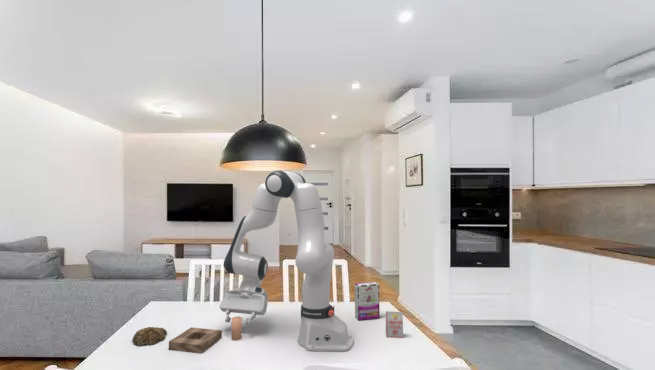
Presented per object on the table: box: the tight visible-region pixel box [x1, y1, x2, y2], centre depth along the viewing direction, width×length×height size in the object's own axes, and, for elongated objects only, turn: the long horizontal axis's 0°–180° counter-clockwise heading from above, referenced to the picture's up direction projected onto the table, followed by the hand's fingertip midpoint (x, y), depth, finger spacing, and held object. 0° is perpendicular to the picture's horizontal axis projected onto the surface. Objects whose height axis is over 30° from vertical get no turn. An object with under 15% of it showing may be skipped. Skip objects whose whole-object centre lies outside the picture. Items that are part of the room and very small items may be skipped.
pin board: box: [168, 326, 223, 354], centre depth 131 cm, size 14×14×3 cm
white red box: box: [385, 310, 404, 339], centre depth 140 cm, size 4×7×10 cm, turn 86°
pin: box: [230, 316, 243, 341], centre depth 136 cm, size 4×4×8 cm
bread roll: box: [131, 326, 168, 347], centre depth 135 cm, size 13×12×5 cm
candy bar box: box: [354, 281, 381, 322], centre depth 161 cm, size 11×5×16 cm, turn 106°
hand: (237, 322), depth 138 cm, fingers open, 8 cm apart
